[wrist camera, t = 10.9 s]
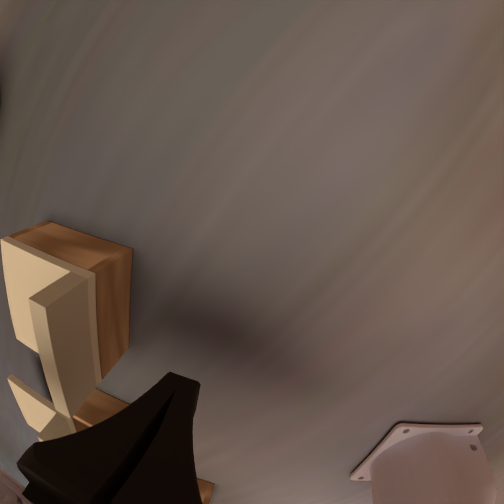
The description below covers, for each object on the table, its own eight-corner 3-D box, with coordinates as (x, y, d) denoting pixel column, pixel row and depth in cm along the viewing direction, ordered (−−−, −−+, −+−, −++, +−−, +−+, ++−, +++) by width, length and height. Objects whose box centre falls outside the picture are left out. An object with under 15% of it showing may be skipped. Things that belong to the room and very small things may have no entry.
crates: (281, 292, 15) (275, 330, 11) (206, 503, 24) (198, 526, 21) (47, 220, 16) (9, 235, 12) (89, 456, 25) (77, 475, 22)
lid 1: (95, 273, 12) (45, 307, 9) (101, 380, 14) (70, 419, 11) (8, 236, 12) (-37, 255, 9) (22, 334, 15) (-11, 360, 11)
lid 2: (70, 414, 16) (47, 443, 13) (85, 455, 19) (68, 480, 16) (11, 374, 17) (-13, 396, 14) (30, 420, 19) (13, 441, 16)
